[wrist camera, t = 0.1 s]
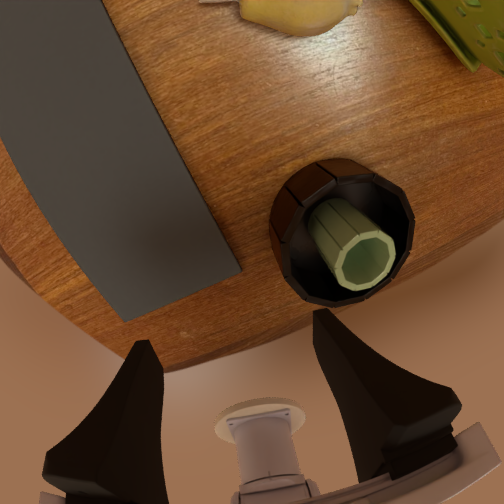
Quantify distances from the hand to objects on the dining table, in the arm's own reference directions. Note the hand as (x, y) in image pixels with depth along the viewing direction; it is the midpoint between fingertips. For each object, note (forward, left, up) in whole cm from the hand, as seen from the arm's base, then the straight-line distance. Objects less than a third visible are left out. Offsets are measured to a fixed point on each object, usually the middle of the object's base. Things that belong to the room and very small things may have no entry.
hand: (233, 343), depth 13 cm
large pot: (-1, -9, -12) cm, 15 cm away
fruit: (+16, -6, -12) cm, 21 cm away
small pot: (-1, -9, -12) cm, 15 cm away
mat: (+27, +14, -12) cm, 33 cm away
